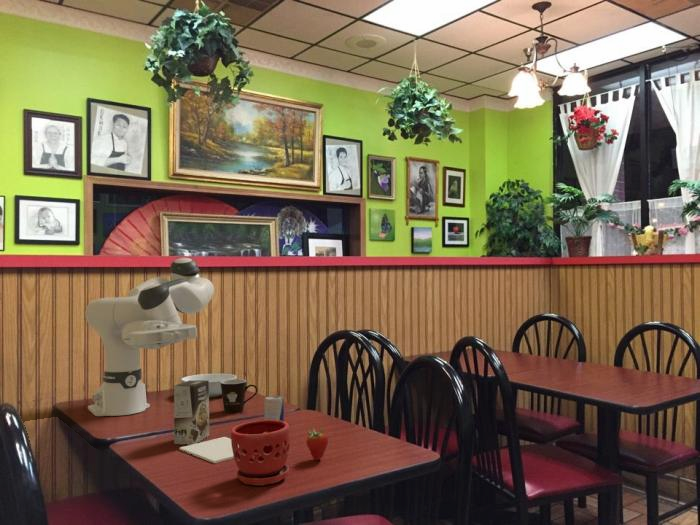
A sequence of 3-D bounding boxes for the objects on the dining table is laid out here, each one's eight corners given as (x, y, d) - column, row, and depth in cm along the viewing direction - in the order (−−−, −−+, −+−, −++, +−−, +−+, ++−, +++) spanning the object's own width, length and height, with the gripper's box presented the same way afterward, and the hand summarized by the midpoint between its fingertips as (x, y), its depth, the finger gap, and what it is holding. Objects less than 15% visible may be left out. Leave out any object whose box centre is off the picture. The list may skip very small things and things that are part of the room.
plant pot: (268, 465, 144) (267, 415, 145) (302, 478, 135) (301, 425, 135) (220, 479, 135) (219, 426, 136) (253, 494, 126) (252, 437, 126)
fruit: (304, 457, 150) (304, 425, 150) (325, 455, 152) (325, 423, 152) (309, 463, 145) (308, 430, 146) (330, 461, 147) (330, 428, 147)
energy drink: (287, 439, 167) (286, 396, 167) (279, 444, 162) (278, 400, 162) (270, 437, 169) (269, 395, 169) (261, 443, 164) (260, 399, 164)
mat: (179, 449, 159) (179, 447, 159) (224, 438, 169) (224, 436, 169) (214, 463, 147) (214, 461, 147) (261, 450, 157) (261, 448, 157)
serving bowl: (247, 391, 236) (247, 374, 237) (214, 402, 217) (214, 383, 217) (204, 388, 245) (204, 371, 245) (169, 398, 226) (169, 380, 226)
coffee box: (194, 445, 163) (194, 385, 163) (173, 444, 164) (172, 385, 164) (210, 436, 171) (209, 379, 172) (189, 435, 173) (189, 379, 173)
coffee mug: (215, 413, 200) (215, 383, 201) (230, 407, 208) (229, 378, 209) (245, 415, 196) (245, 385, 196) (259, 409, 204) (258, 380, 204)
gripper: (120, 328, 177) (141, 329, 167) (182, 321, 192) (205, 321, 182) (121, 349, 177) (143, 351, 167) (183, 340, 191) (207, 342, 182)
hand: (176, 335), depth 175 cm, fingers closed
